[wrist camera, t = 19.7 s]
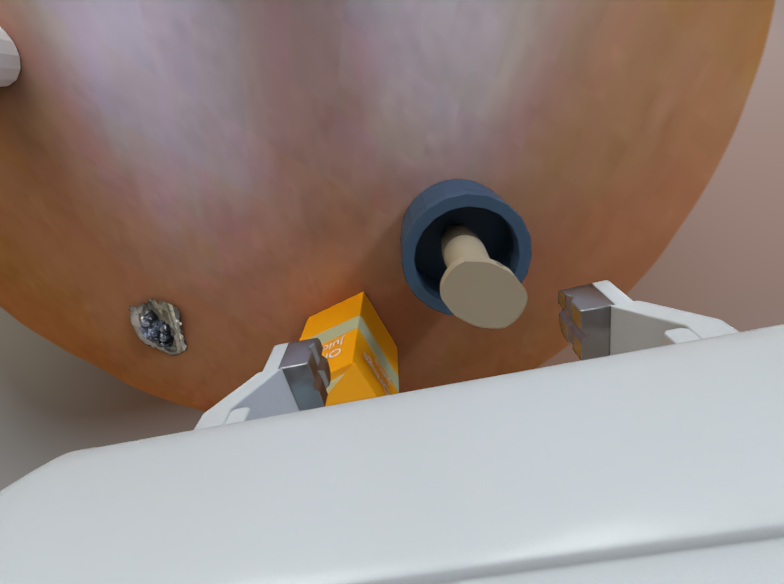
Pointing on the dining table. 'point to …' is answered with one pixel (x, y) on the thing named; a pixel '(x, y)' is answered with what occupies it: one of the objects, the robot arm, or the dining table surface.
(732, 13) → the dining table surface
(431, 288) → the jar
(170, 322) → the mineral rock
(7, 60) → the white ribbed cylinder
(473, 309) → the handle
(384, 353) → the orange juice
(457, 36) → the dining table surface
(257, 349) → the dining table surface
